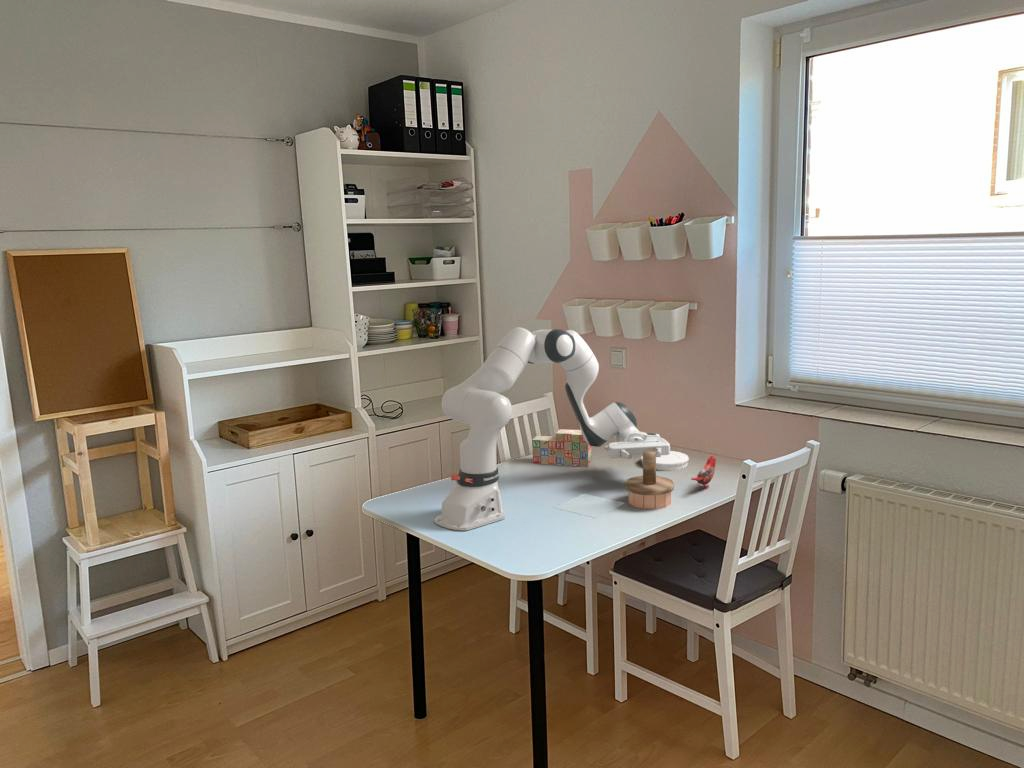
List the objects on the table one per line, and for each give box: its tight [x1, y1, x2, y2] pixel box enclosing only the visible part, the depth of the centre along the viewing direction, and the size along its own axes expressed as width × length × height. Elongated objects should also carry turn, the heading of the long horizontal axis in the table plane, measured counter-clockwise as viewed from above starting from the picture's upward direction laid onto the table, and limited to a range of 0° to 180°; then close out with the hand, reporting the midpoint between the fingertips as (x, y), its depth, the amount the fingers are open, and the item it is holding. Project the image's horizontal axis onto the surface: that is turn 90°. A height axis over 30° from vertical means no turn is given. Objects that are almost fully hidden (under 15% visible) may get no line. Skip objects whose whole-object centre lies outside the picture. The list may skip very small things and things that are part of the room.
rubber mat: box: [553, 493, 626, 519], centre depth 242 cm, size 16×16×1 cm
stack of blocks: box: [531, 428, 593, 467], centre depth 288 cm, size 21×6×12 cm, turn 71°
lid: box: [640, 450, 690, 471], centre depth 284 cm, size 17×20×3 cm
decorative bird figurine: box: [690, 455, 717, 490], centre depth 252 cm, size 3×18×10 cm, turn 141°
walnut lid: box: [624, 450, 675, 495], centre depth 241 cm, size 15×15×12 cm
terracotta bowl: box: [627, 490, 672, 510], centre depth 243 cm, size 13×13×5 cm
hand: (644, 455), depth 248 cm, fingers open, 8 cm apart
